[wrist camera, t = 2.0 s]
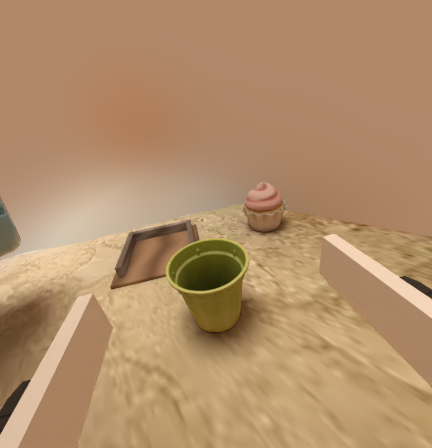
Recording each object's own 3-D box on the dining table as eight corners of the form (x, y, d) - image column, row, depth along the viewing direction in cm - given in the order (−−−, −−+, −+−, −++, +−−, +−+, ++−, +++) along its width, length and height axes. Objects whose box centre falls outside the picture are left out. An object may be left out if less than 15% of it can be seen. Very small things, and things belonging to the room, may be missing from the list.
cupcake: (238, 234, 44) (233, 189, 39) (249, 215, 51) (246, 175, 47) (284, 238, 40) (284, 189, 36) (289, 216, 47) (290, 173, 43)
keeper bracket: (111, 289, 35) (105, 277, 33) (129, 240, 49) (125, 231, 48) (205, 266, 36) (202, 255, 35) (196, 226, 50) (194, 217, 49)
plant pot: (269, 312, 26) (267, 257, 22) (211, 366, 22) (195, 309, 18) (222, 277, 33) (213, 230, 29) (170, 313, 28) (152, 263, 24)
